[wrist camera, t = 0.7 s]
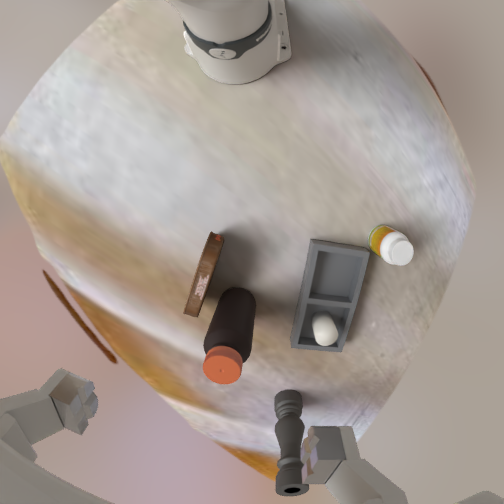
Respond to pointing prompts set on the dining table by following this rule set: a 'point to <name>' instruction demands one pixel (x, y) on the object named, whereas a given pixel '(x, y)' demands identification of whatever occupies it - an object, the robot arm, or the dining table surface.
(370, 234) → the supplement bottle
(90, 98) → the dining table surface
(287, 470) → the candle holder
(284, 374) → the dining table surface
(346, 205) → the dining table surface
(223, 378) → the vinegar
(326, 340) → the shaker
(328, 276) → the caddy
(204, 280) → the tin
